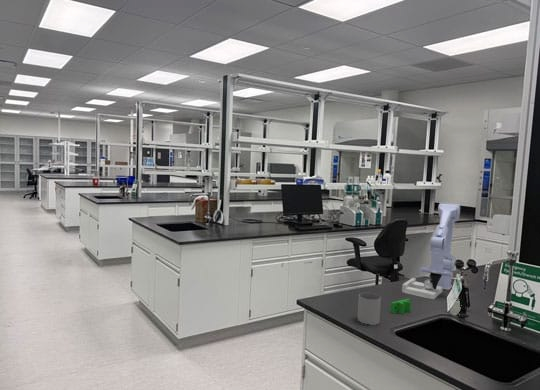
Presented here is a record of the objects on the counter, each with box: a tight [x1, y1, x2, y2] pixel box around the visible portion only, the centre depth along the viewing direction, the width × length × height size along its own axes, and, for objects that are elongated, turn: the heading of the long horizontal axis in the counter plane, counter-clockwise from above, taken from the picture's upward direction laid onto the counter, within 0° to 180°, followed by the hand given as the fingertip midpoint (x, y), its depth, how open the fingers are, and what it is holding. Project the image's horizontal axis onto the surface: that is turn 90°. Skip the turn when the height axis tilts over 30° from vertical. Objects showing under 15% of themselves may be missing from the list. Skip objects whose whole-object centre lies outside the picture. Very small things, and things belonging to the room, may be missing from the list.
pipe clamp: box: [390, 298, 412, 315], centre depth 161 cm, size 11×4×5 cm, turn 122°
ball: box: [423, 278, 433, 290], centre depth 186 cm, size 5×5×5 cm
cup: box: [357, 292, 382, 326], centre depth 149 cm, size 8×8×10 cm
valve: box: [449, 298, 468, 316], centre depth 162 cm, size 7×7×12 cm
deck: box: [401, 277, 444, 301], centre depth 189 cm, size 16×15×4 cm
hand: (434, 288), depth 184 cm, fingers closed
